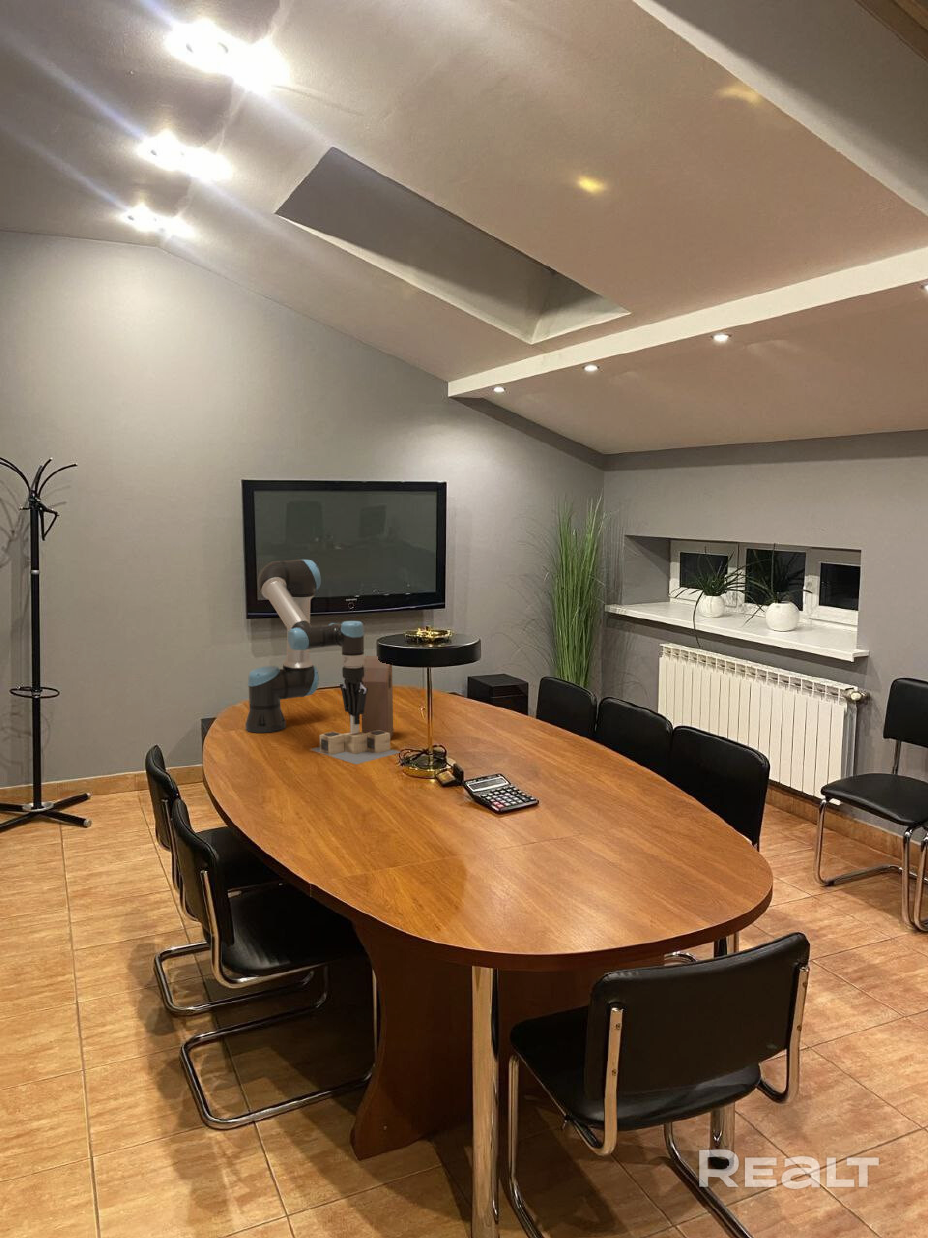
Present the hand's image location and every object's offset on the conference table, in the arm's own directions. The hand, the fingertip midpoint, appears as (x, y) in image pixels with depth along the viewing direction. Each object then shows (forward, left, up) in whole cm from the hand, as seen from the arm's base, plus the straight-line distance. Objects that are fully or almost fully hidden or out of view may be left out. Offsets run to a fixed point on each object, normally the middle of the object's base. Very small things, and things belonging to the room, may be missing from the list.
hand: (354, 732), depth 323 cm
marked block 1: (-5, -6, -6) cm, 10 cm away
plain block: (0, 0, -6) cm, 6 cm away
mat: (0, 0, -7) cm, 7 cm away
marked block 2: (+5, +6, -6) cm, 10 cm away
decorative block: (-8, +17, -7) cm, 20 cm away
